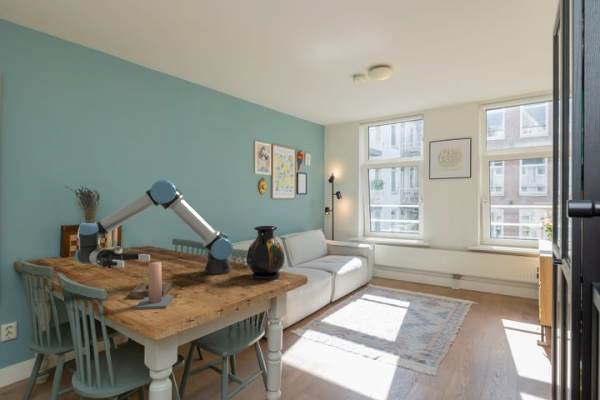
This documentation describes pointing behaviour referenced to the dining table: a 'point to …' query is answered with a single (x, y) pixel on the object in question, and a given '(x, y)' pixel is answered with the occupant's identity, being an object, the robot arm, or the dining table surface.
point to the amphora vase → (265, 255)
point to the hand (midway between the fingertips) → (137, 260)
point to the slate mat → (146, 305)
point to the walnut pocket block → (143, 290)
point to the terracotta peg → (155, 282)
